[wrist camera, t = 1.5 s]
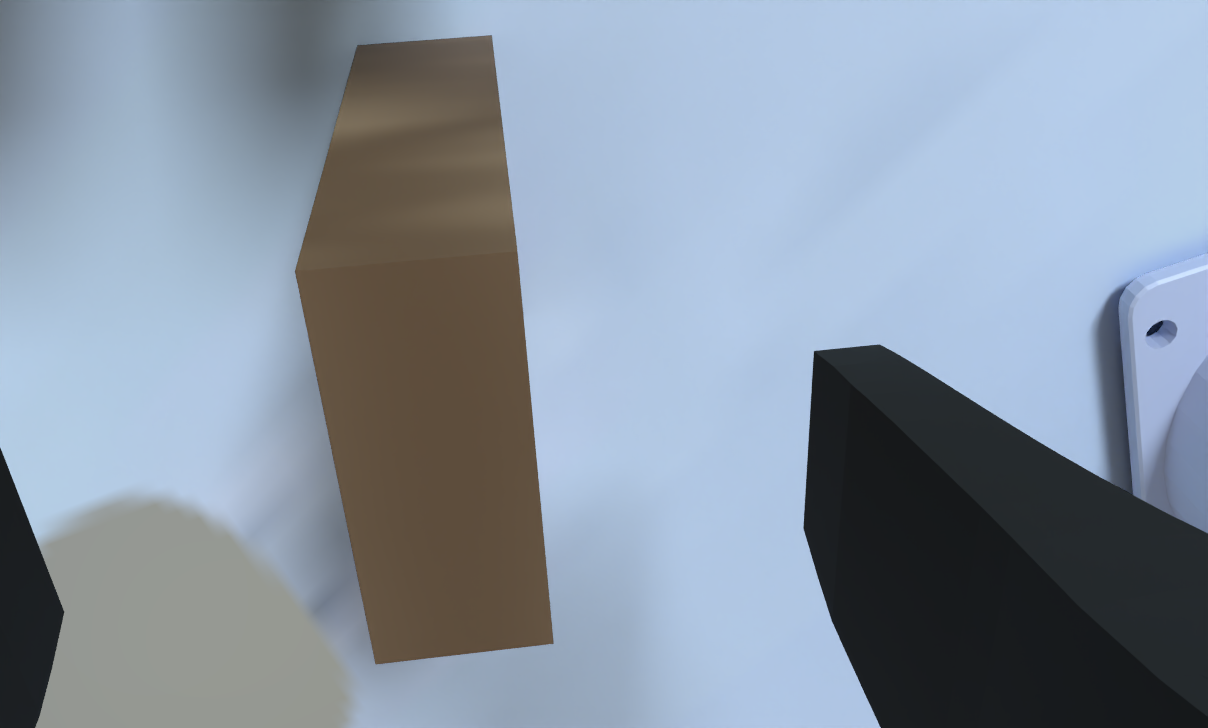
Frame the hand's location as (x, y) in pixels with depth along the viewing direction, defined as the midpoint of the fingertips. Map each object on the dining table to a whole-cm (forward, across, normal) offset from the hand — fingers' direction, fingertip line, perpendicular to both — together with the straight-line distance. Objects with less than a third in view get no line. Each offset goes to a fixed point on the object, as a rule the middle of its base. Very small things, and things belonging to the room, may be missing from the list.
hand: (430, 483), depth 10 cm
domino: (+7, 0, 0) cm, 7 cm away
